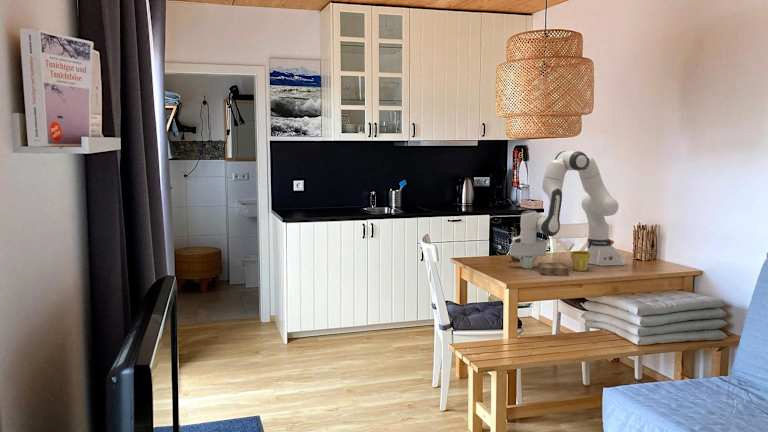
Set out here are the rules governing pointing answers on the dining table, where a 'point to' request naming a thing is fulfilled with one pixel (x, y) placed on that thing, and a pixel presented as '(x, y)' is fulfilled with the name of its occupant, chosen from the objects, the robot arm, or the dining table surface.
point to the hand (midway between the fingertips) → (527, 263)
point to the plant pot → (580, 260)
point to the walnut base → (553, 269)
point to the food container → (515, 258)
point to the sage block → (527, 261)
